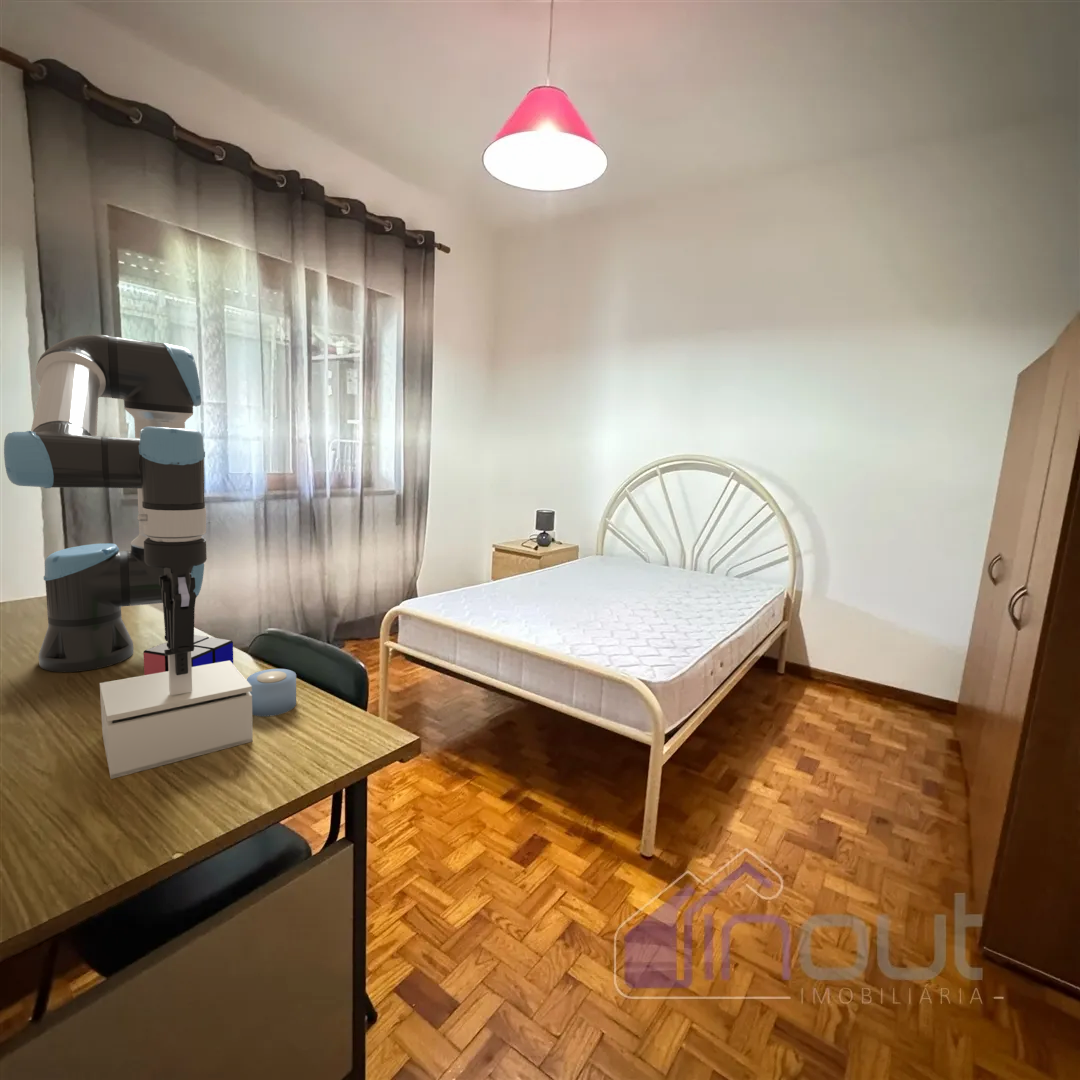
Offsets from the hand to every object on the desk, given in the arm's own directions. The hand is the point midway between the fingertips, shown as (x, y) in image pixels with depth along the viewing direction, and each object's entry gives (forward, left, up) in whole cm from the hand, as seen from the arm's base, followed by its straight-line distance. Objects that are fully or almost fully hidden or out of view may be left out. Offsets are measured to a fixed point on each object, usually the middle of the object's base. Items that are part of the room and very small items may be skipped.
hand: (180, 691), depth 84 cm
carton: (-4, 0, -9) cm, 10 cm away
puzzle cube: (-19, +4, -10) cm, 22 cm away
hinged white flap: (-4, 0, -1) cm, 4 cm away
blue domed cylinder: (-8, +15, -10) cm, 19 cm away
